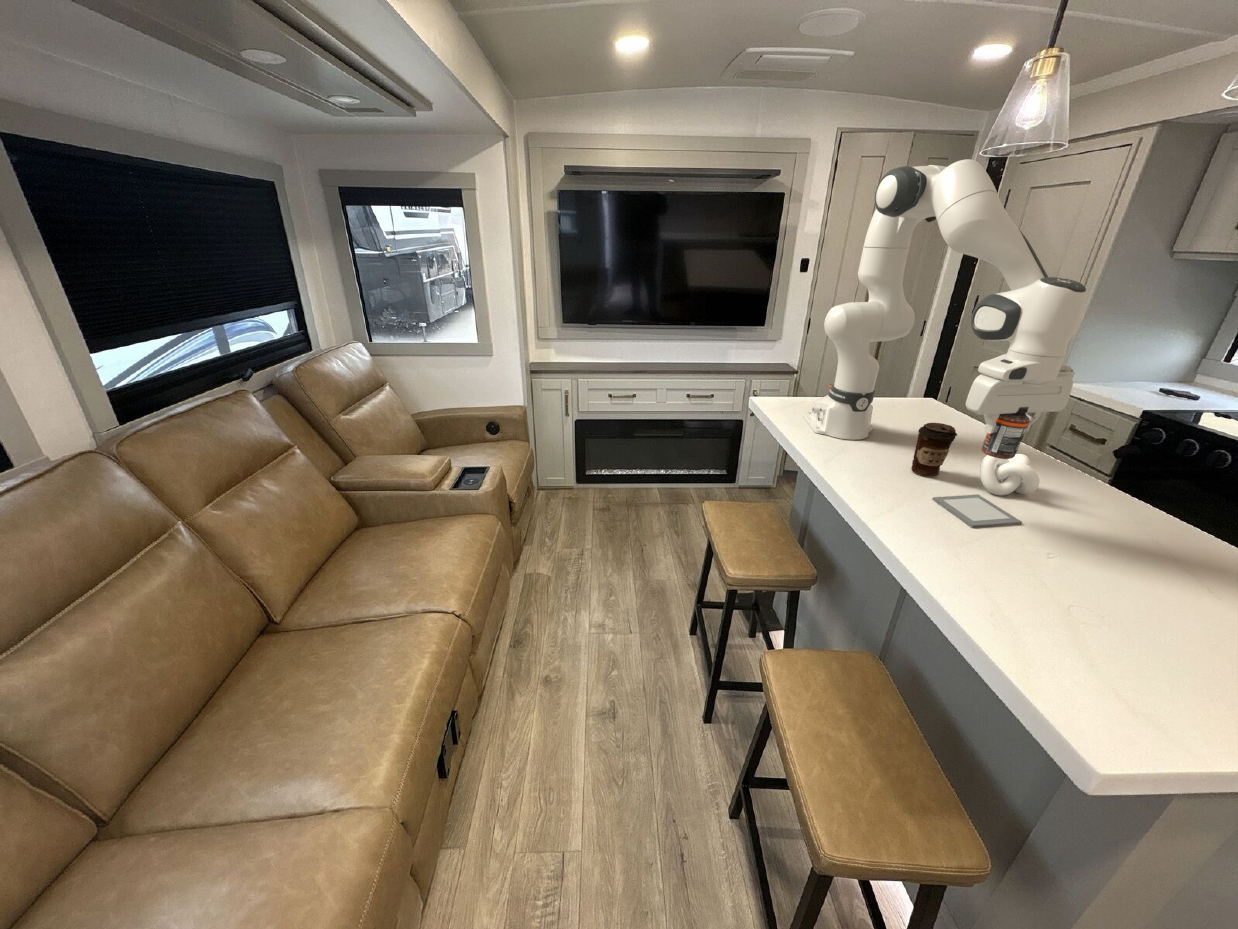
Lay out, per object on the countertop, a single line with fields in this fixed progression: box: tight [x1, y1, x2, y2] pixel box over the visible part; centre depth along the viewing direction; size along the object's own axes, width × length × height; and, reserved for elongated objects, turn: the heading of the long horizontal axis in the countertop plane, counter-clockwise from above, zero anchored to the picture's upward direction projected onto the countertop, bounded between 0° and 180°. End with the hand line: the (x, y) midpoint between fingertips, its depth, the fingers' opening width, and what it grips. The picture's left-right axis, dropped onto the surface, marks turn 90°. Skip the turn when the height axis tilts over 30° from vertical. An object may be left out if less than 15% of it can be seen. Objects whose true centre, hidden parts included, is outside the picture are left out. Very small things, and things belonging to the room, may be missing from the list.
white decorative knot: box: [979, 453, 1041, 496], centre depth 118 cm, size 11×12×9 cm
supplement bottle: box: [981, 407, 1030, 459], centre depth 101 cm, size 6×6×11 cm
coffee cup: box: [910, 422, 958, 478], centre depth 124 cm, size 9×8×13 cm
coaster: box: [931, 493, 1023, 529], centre depth 110 cm, size 12×12×1 cm
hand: (1005, 431), depth 101 cm, fingers closed on supplement bottle, 6 cm apart
